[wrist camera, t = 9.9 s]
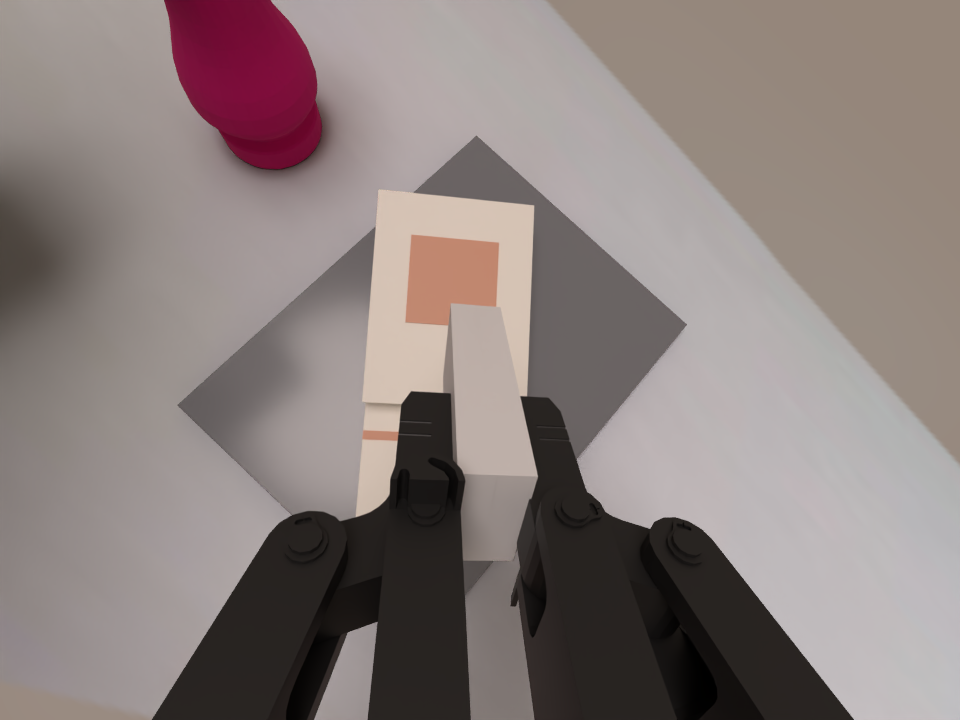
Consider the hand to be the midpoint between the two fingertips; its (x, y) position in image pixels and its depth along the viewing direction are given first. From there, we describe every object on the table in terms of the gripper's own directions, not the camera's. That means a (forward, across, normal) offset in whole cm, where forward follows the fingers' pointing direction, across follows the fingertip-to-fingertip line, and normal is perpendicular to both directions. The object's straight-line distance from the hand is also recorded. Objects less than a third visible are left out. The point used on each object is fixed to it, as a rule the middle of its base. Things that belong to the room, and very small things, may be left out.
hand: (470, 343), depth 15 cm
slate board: (+12, +1, -9) cm, 15 cm away
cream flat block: (+9, 0, -10) cm, 13 cm away
